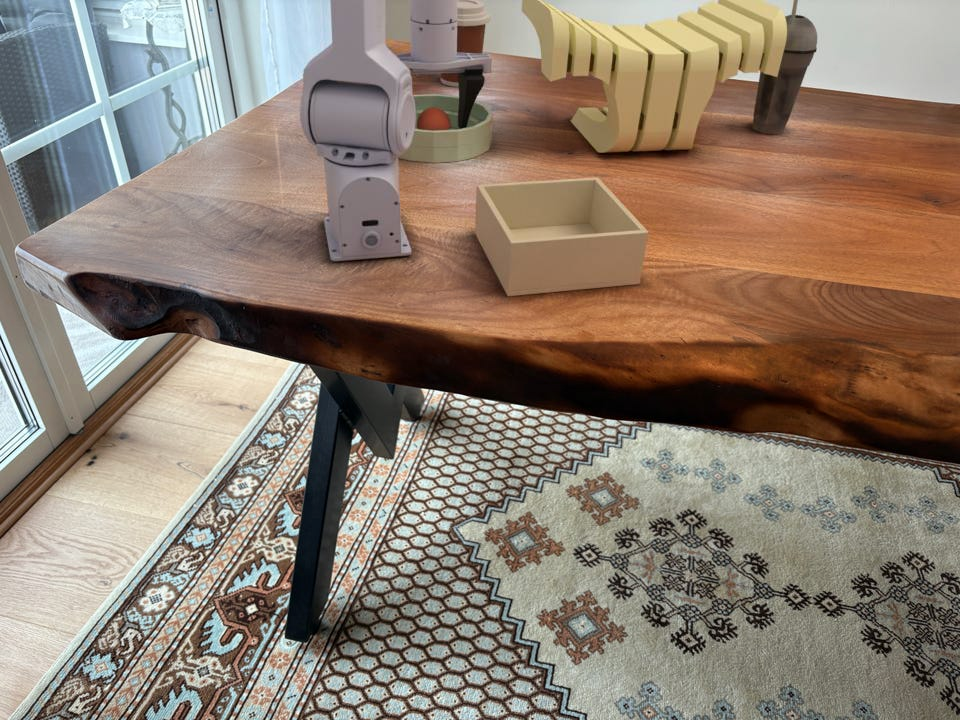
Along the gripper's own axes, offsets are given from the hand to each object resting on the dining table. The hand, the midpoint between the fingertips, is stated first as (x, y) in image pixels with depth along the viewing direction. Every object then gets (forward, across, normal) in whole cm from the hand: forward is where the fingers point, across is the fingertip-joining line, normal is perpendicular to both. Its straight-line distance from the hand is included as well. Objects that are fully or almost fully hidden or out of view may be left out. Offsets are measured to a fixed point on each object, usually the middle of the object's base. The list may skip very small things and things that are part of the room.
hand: (433, 129), depth 101 cm
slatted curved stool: (+2, -28, +1) cm, 28 cm away
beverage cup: (+2, -50, 0) cm, 50 cm away
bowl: (+2, 0, 0) cm, 2 cm away
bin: (+2, -6, +33) cm, 34 cm away
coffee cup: (+2, -10, -29) cm, 31 cm away
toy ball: (+2, 0, 0) cm, 2 cm away
